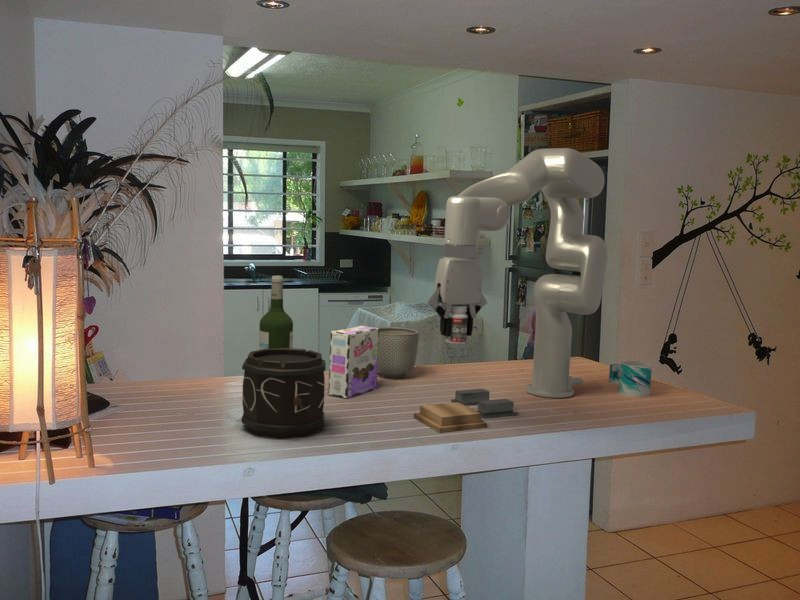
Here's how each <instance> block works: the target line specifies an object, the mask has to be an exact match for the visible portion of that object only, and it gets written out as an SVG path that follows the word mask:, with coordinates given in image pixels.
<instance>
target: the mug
mask: <svg viewBox="0 0 800 600" xmlns="http://www.w3.org/2000/svg"><path fill="white" fill-rule="evenodd" d="M652 373H653V364H651V363H649V362H645V361H640V360H639V361H638V360H625V361H621V362H620V364H618V363H613V364H609V373H608V374H609V375H608V376H609V378H608V382H609V383H611V384H615V385H618V394H620V395H622V396H624V397H625V396H626V397H630V398H639V399H642V398H643V399H644V398H650V394H651V385H652Z"/></svg>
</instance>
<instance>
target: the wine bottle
mask: <svg viewBox="0 0 800 600" xmlns="http://www.w3.org/2000/svg"><path fill="white" fill-rule="evenodd" d="M270 281H271V288H270V291H271V292H270V307H269V309H268V311H267V312H266V313H265V314H264V315H263V316H262V317H261V319H260V321H259V335H258V336H259V339H258V350H262V349H269V348H293V347H294V346H293V341H294V340H293V339H294V322H293V320H292V318H291V316H290V315H289V314H288V313H286V311H285V308H284V285H283V284H284V278H283V275H272V276H271V280H270Z"/></svg>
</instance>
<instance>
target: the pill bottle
mask: <svg viewBox="0 0 800 600" xmlns="http://www.w3.org/2000/svg"><path fill="white" fill-rule="evenodd" d="M466 311H467V306H466V305H452V308H451V311H450V315H449V318H450V319H451V332H450V336H449V337H447V336H444V342H445V343H447V344H450V345H465V344H466V343H467V336H468V335H467V323H468V316H467V314H465V312H466Z"/></svg>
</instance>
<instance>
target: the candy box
mask: <svg viewBox="0 0 800 600" xmlns="http://www.w3.org/2000/svg"><path fill="white" fill-rule="evenodd" d="M378 337H379V327H371V326H366V325H359V326H354V327H350V328H345V329H344V328H343V329H337V330H331V331H330V343H329V344H330V347H329V367H328V368H329V374H328V395H329V396H332V397H337V398H342V399H348V398H353V397H355V396H356V397H357V396H358V395H362V394H365V393H368V392H371V391H374V390H377V388H378V387H377V386H378V371H377V366H378V365H377V364H378Z"/></svg>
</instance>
